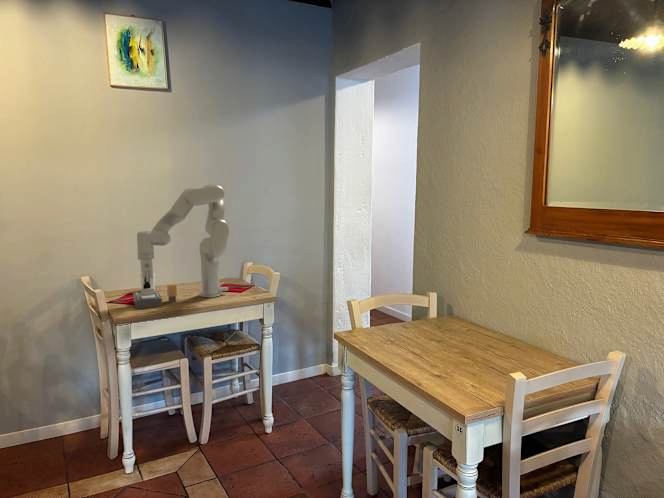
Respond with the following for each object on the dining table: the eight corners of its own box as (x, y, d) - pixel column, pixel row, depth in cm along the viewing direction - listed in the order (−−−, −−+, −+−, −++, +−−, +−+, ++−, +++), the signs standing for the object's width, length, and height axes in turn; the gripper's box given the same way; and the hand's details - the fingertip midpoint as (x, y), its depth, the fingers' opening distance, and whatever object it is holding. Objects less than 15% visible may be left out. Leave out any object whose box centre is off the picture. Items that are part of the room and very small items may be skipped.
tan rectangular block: (175, 299, 252) (175, 283, 251) (176, 301, 248) (176, 284, 247) (167, 300, 250) (167, 283, 249) (168, 302, 247) (168, 285, 245)
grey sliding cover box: (158, 298, 254) (157, 290, 253) (161, 306, 240) (161, 297, 239) (133, 300, 249) (133, 291, 248) (136, 308, 234) (135, 299, 234)
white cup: (158, 289, 274) (157, 272, 272) (151, 292, 266) (151, 274, 264) (145, 288, 274) (144, 271, 273) (138, 291, 267) (137, 274, 265)
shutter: (154, 295, 243) (154, 287, 243) (155, 298, 238) (155, 290, 237) (140, 296, 241) (140, 289, 240) (141, 299, 235) (141, 291, 234)
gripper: (155, 258, 236) (156, 294, 238) (152, 253, 249) (153, 287, 252) (138, 258, 232) (140, 295, 235) (136, 253, 246) (138, 288, 248)
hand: (147, 291), depth 243 cm, fingers closed
